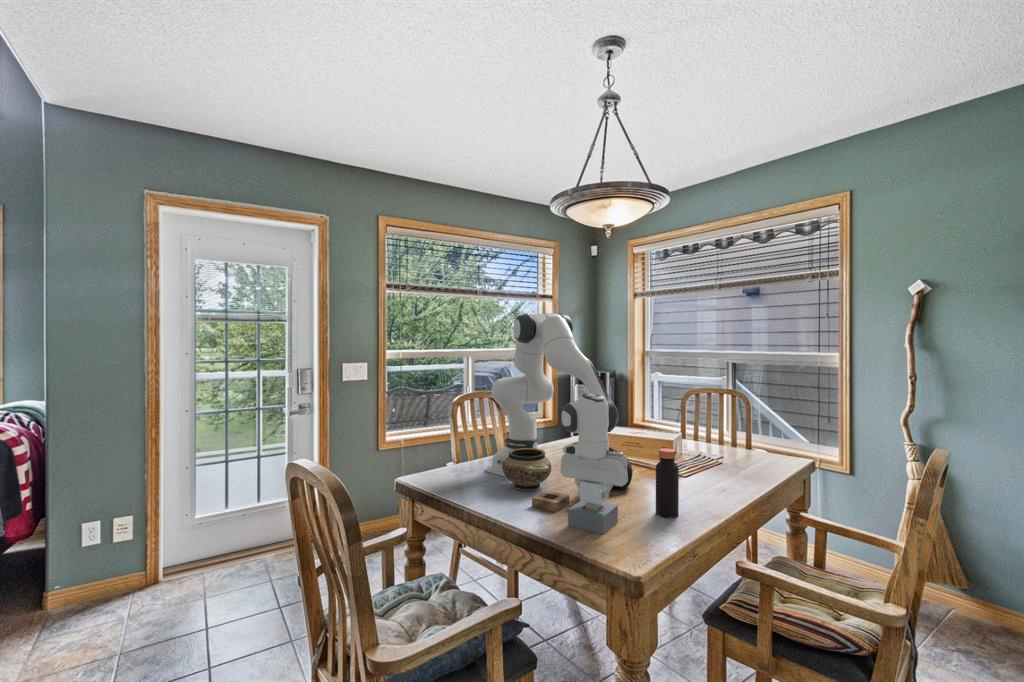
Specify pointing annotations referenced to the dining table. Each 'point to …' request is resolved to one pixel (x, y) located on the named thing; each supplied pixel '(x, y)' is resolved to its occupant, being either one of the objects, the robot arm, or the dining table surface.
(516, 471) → the ceramic bowl
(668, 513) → the bottle
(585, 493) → the plug
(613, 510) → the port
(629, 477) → the squash
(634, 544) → the dining table surface
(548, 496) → the cradle
